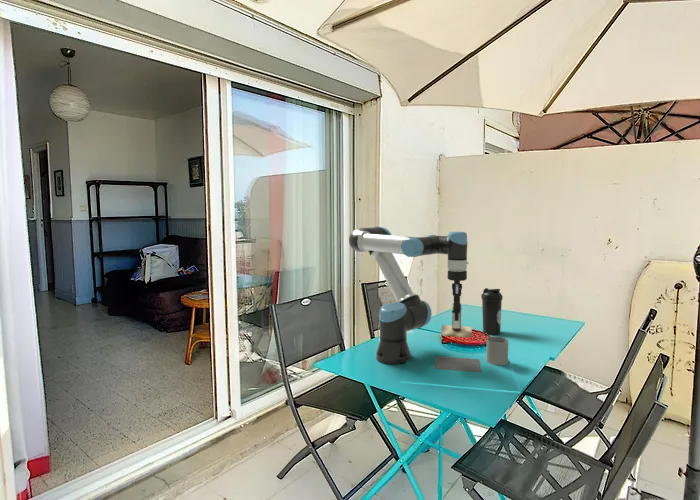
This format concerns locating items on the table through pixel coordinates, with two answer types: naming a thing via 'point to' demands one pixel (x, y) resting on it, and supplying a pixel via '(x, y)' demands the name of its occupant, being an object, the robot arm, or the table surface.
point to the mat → (457, 364)
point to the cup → (497, 350)
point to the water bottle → (491, 311)
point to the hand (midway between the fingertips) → (456, 326)
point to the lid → (456, 329)
